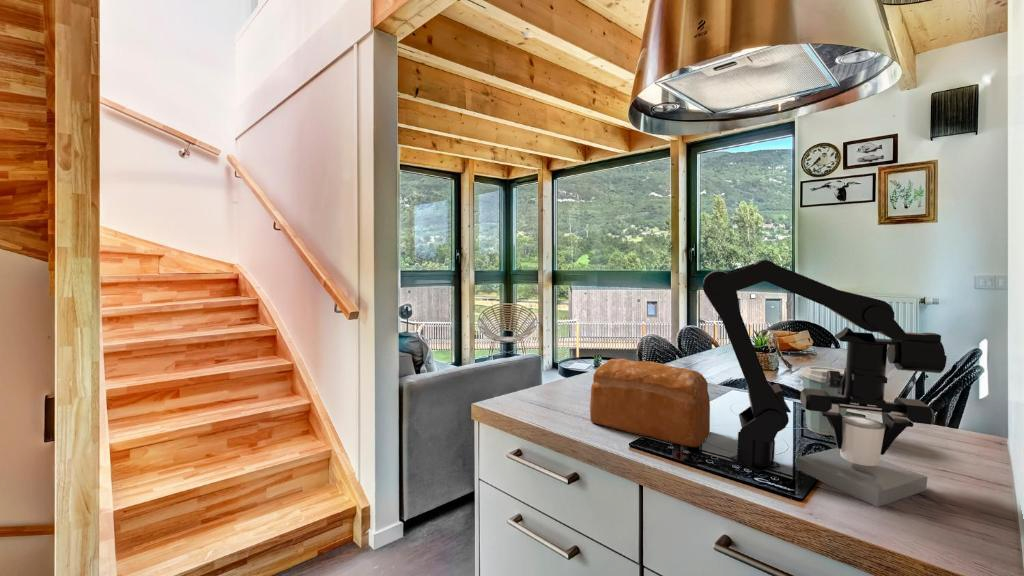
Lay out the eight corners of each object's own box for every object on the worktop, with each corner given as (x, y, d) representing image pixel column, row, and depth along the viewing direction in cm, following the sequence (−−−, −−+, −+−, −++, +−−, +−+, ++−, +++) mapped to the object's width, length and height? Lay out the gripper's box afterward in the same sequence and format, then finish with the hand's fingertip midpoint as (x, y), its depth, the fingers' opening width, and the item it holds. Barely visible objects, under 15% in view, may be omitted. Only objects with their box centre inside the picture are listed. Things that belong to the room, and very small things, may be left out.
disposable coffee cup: (792, 420, 116) (795, 361, 115) (843, 425, 112) (847, 364, 111) (804, 436, 106) (808, 371, 105) (860, 442, 102) (865, 375, 101)
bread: (609, 408, 124) (610, 350, 123) (713, 432, 108) (716, 365, 107) (584, 424, 113) (586, 360, 112) (696, 452, 97) (699, 378, 96)
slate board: (877, 506, 76) (878, 492, 76) (796, 470, 89) (796, 457, 89) (926, 490, 82) (927, 476, 82) (843, 457, 95) (844, 445, 95)
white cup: (891, 469, 81) (894, 430, 81) (847, 465, 83) (850, 427, 82) (870, 452, 88) (872, 416, 87) (829, 449, 89) (831, 413, 89)
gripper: (911, 362, 88) (905, 442, 89) (797, 353, 95) (793, 428, 96) (939, 376, 78) (931, 467, 79) (809, 365, 85) (803, 448, 86)
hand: (859, 450), depth 85 cm, fingers closed on white cup, 6 cm apart
